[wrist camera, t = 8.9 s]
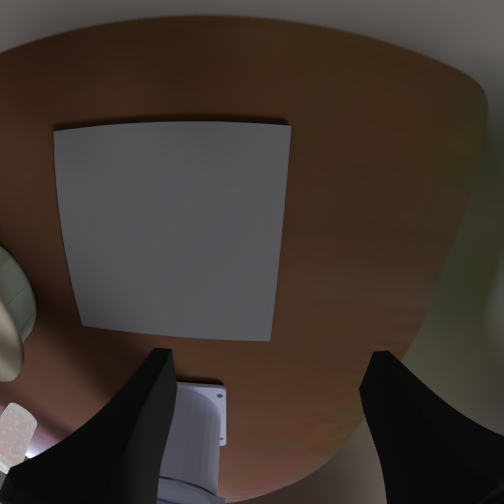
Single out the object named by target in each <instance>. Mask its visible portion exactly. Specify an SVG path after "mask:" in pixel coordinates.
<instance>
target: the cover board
mask: <svg viewBox="0 0 504 504" xmlns="http://www.w3.org/2000/svg"><path fill="white" fill-rule="evenodd" d="M24 357H25V355H24V347H23V343H22V339H21V336H20V333H19V330H18V328H17V325H16V323H15V321H14V319H13V316H12V314H11V312H10V310H9V309H8V307H7V305H6V303H5V301H4V300H3V298H2V296H1V295H0V381H2V382H8V381H11V380H14V379H15V378H16V377H17V375H18V374H19V372H20V371H21V369H22V367H23V364H24Z"/></svg>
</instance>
